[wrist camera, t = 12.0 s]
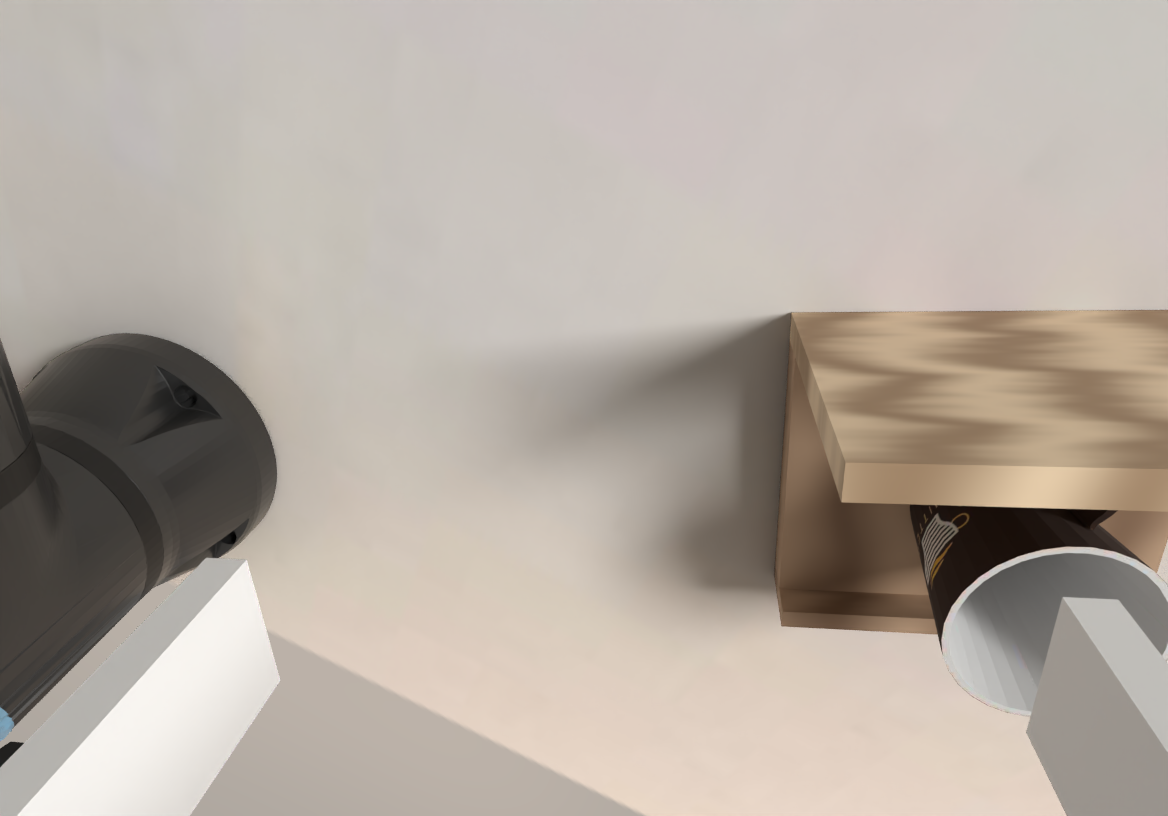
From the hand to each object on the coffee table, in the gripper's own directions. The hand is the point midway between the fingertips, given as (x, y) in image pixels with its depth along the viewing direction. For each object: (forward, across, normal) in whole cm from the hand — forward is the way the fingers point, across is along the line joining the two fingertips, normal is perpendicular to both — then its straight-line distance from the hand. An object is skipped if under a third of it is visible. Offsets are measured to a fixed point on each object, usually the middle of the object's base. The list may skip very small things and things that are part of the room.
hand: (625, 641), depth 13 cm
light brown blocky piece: (+29, +16, -12) cm, 35 cm away
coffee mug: (+26, +17, -12) cm, 33 cm away
